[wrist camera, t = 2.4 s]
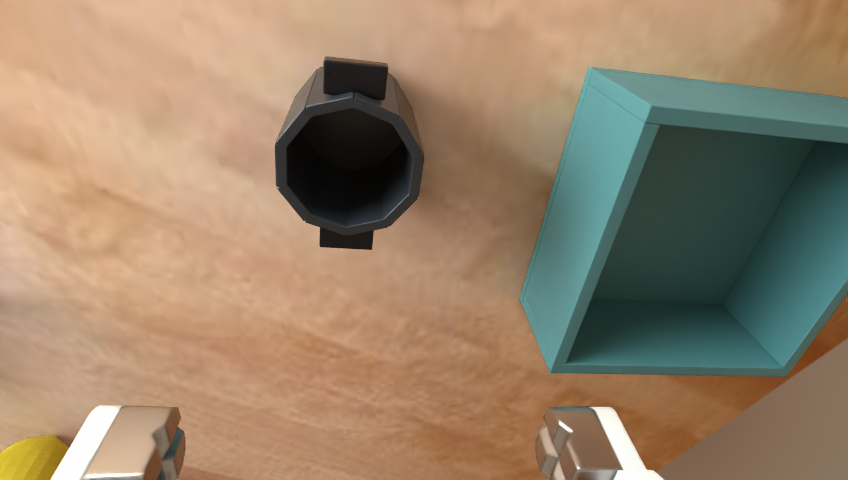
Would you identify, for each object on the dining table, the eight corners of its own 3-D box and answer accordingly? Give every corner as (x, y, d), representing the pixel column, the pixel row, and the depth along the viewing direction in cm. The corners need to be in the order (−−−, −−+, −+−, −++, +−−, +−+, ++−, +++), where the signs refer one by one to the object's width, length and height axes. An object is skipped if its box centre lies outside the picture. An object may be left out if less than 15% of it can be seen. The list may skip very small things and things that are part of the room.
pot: (294, 27, 24) (271, 57, 19) (419, 42, 25) (435, 75, 20) (295, 187, 29) (278, 252, 23) (401, 195, 30) (410, 259, 24)
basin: (588, 66, 27) (651, 105, 21) (843, 97, 30) (963, 139, 24) (519, 299, 36) (549, 373, 30) (720, 307, 38) (786, 377, 32)
